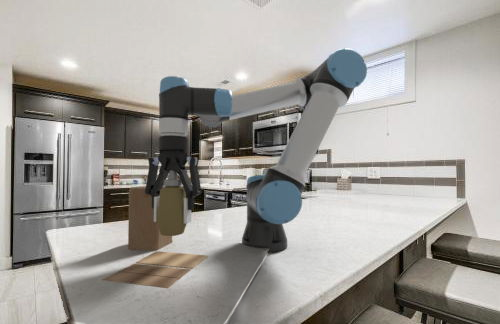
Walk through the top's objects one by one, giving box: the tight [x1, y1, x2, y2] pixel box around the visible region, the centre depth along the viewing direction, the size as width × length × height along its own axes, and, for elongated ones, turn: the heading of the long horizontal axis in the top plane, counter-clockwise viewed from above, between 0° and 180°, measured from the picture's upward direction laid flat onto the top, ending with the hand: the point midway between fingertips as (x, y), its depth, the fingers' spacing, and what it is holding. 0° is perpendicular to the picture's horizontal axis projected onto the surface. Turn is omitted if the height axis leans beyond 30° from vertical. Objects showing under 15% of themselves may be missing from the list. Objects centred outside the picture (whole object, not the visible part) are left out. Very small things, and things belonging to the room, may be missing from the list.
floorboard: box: [102, 263, 192, 289], centre depth 58 cm, size 16×10×2 cm, turn 76°
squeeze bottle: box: [156, 170, 188, 237], centre depth 69 cm, size 8×8×18 cm
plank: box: [135, 250, 209, 270], centre depth 68 cm, size 16×9×2 cm, turn 76°
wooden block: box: [127, 185, 173, 252], centre depth 82 cm, size 10×10×20 cm
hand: (172, 221), depth 68 cm, fingers closed on squeeze bottle, 8 cm apart
